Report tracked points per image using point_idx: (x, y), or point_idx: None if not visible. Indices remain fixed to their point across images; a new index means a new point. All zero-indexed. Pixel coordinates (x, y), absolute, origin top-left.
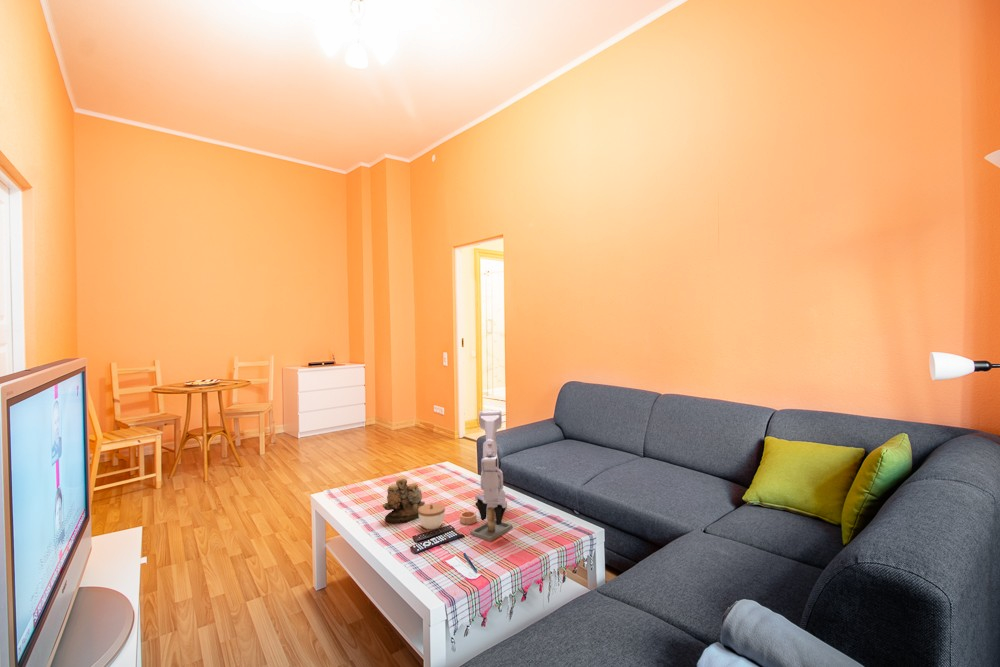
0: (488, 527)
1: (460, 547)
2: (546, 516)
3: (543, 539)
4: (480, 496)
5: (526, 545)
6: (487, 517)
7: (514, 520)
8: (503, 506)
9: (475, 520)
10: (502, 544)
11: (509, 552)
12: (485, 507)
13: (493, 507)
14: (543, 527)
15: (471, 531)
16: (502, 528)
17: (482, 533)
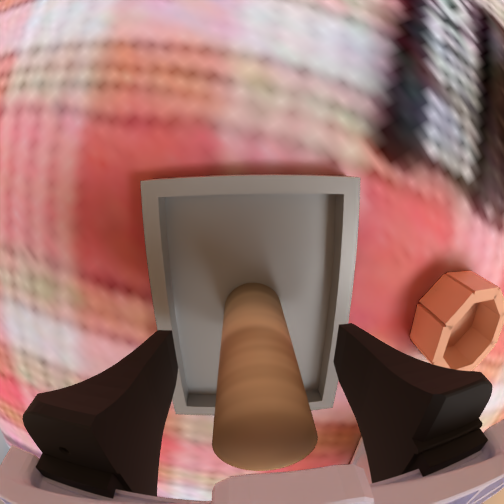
0: (259, 298)
1: (283, 16)
2: (167, 497)
3: (18, 368)
4: (472, 499)
5: (8, 286)
6: (281, 347)
7: None
8: (8, 459)
9: (419, 339)
10: (81, 215)
11: (10, 171)
12: (369, 431)
13: (256, 467)
14: None
15: (350, 181)
16: (217, 371)
17: (283, 241)
